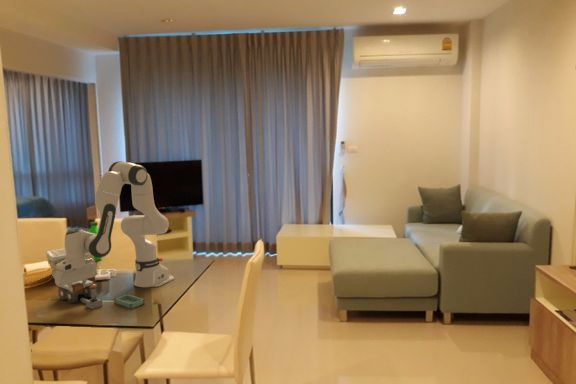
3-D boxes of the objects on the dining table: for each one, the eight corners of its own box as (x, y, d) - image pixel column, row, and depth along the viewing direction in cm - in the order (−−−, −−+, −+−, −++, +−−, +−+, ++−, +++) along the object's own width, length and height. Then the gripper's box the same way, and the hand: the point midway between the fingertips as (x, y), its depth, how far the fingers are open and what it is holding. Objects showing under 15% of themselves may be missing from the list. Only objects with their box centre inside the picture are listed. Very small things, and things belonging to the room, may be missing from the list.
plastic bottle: (104, 261, 313) (102, 223, 310) (86, 262, 310) (84, 224, 306) (105, 256, 323) (103, 220, 319) (88, 258, 319) (85, 221, 316)
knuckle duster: (82, 283, 271) (84, 275, 285) (115, 280, 277) (116, 272, 291) (81, 277, 271) (84, 269, 285) (115, 274, 276) (116, 267, 290)
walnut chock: (83, 292, 236) (83, 283, 235) (75, 294, 232) (75, 285, 232) (78, 291, 238) (78, 282, 237) (71, 293, 235) (70, 284, 234)
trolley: (79, 292, 256) (77, 253, 253) (110, 303, 241) (107, 261, 237) (58, 298, 246) (55, 258, 243) (88, 310, 231) (85, 267, 228)
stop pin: (95, 304, 239) (94, 283, 237) (99, 305, 237) (98, 284, 235) (89, 306, 236) (87, 285, 234) (93, 308, 234) (91, 286, 232)
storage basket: (53, 281, 273) (51, 256, 271) (46, 274, 286) (45, 250, 283) (96, 273, 288) (95, 249, 285) (88, 267, 300) (87, 244, 298)
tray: (128, 298, 246) (127, 294, 246) (144, 304, 239) (144, 299, 239) (114, 303, 240) (114, 298, 240) (131, 309, 233) (130, 304, 232)
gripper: (91, 256, 243) (92, 283, 245) (52, 266, 227) (54, 294, 228) (98, 258, 240) (100, 285, 242) (59, 268, 223) (61, 297, 225)
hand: (77, 289), depth 235 cm, fingers closed on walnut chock, 4 cm apart
